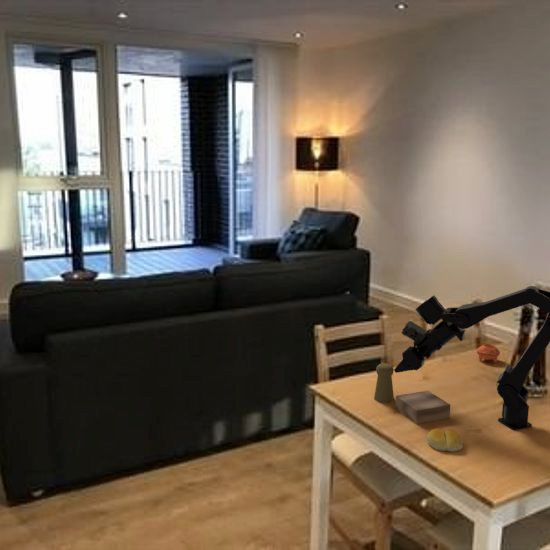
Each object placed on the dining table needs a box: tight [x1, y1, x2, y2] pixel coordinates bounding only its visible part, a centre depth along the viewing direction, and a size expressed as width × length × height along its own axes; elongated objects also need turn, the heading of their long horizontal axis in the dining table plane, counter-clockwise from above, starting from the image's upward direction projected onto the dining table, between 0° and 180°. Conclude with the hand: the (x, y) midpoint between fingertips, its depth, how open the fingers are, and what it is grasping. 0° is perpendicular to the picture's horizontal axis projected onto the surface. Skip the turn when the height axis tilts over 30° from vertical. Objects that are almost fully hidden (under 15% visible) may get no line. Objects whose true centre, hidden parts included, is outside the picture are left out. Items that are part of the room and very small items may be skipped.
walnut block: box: [395, 390, 451, 425], centre depth 172 cm, size 11×11×4 cm
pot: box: [476, 343, 501, 363], centre depth 214 cm, size 8×8×7 cm
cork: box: [373, 362, 395, 404], centre depth 181 cm, size 6×6×11 cm
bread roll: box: [426, 427, 464, 452], centre depth 153 cm, size 8×9×4 cm
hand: (399, 366), depth 178 cm, fingers open, 9 cm apart
